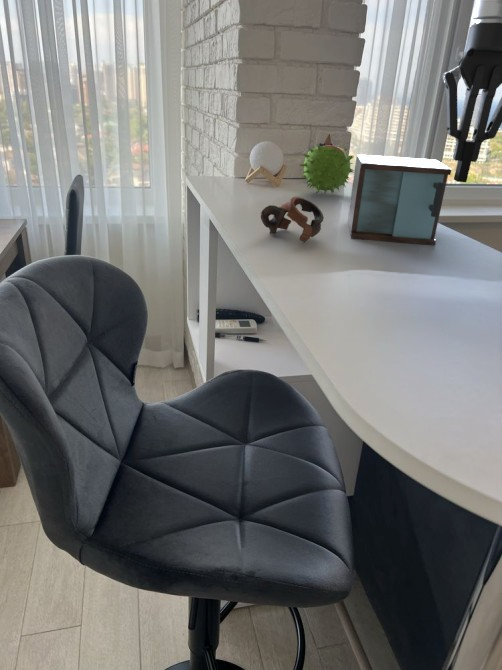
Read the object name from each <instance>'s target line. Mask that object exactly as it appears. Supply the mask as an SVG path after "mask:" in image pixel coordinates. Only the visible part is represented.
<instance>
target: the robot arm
mask: <svg viewBox="0 0 502 670" xmlns="http://www.w3.org/2000/svg"><path fill="white" fill-rule="evenodd" d="M471 20H472V22H473V24H471V26H470V27H469V29H468V33H467V38H466V43H465V48H464V52H463V55H462V58H461V59H460V60H459V62H458V65H457V66H456V67H454V68H453V69H451V70H449V71H445V72H443V73H442V75H441V79H442V81H443V84H444V86H445V103H446V105H445V106H446V107H445V108H446V134H447V135H448V136H450V137H453V138H454V139H455V145H454V150H453V155H452V157H453V160H454V161H456V162H457V164H456V167H455V172H454V176H453V180H454V181H456V182H457V183H467V182H468V176H469V172H470V168H471V164H472V163H477V161H478V160H479V155H480V152H481V147H482V144H483V143H484V142H485V141H487V140H491V139H492V140H493V139H495V137H496V136H497V134H498V132H499V130H500V127H501V126H502V96H501V97H500V99H499V101H498V103H497V105H496V108H495V109H494V112H493V114H492V116H491V118H490V115H491V114H490V113H491V109H492V105H493V101H494V98H495V96H496V92H497V89H498V88H500V86H501V85H502V0H475V1H474V5H473V10H472V14H471ZM460 76H461V78H462V81H463V83H464V85H465V87H466V89H465V97H464V102H463V106H462V109H461V110H462V111H461V115H460V119H459V118H458V117H459V116H458V84H457V83H459V82H460ZM480 91H481V94H480ZM479 94H480V96H481V98H480V102H479V105H478V111H477V115H476V119H475V123H474V128H473V132H472V137H471V138H472V139H471V140H468V138H469V134H470V130H471V124H472V121H473V116H474V113H475V108H476V103H477V99H478V96H479ZM489 118H490V119H489ZM458 119H459V122H458ZM458 123H459V124H458Z"/></svg>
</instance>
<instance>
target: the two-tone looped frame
mask: <svg viewBox="0 0 502 670" xmlns="http://www.w3.org/2000/svg"><path fill="white" fill-rule="evenodd" d="M299 205H300V207H301V210H299V209H298V208H297V206H299ZM301 211H302V212H307V213H312V214H313V218H314V219H312V220H311V222H310V224H309V223H308V220H309V218H308V216H306V215H304V214H303V213H302V212H301ZM271 215H272V218H271V219H270V216H271ZM285 216H287V217H288V218H286V217H285ZM260 220H261V223H262V224H263V225H264V227H266V228H268V229H269V234H270V235H271V234H277V231H278V229H280V230H285V231H288V228H289V226H290V224H291V223H292V221H293V222H294V223H296V224H297V225H298V226H299V227H300V228H302V229H303V230H302V233H301V235H300V236H299V241H301V242H303V243H307V242H308V241H309V240H310V238H314V237H315V236H316V235H318V234H319V233H320V231H321V230H322V223H323V221H324V214H323V212H322V210H321V209H320V208H319V207H318V206H317V205H316V204H315V203H313V201H310V200H308V199H306V198H304V197H300V196H294V197H291V199H290V200H289V201H287V202H284V203H283V204H280V205H279V206H277V205H272V204H270V205H267V206H264V208H263V209H262V210H261V212H260Z"/></svg>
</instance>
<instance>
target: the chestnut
mask: <svg viewBox="0 0 502 670" xmlns="http://www.w3.org/2000/svg"><path fill="white" fill-rule="evenodd" d="M336 145H337V144H336V143H335V144H334V145H331V144H327V145H319V144H317V146H316V147H313V148H310V147H308V149H309V151H308V152H307V154H306V153H303V156H305V158H304V161H303V163H301V164H299V166H300V167H303V172H302V174H301V176H300V179H302V178H305V179H306V180H307V182H306V184H307V185H306V187H309V188H311V189H313V188H315V189H316V195H318V193H319V192H320V191H323V192H324V195H326V193H328V192H327V191H330V192H331V193H332V194H335V189H337V190H338V191H340V186H343V187H344V188H347V186H346V185H345V183H346V184H349V182H348V181H350V177H349V175H350V173H351V174H352V173H354V172H355V169H353V168H351V165H353V164H354V163H353V162H351V160H352V159H354V157H355V155H349V152H348V151H347V150H348V147H346V148H345V147H344V146H339V145H337V146H336ZM347 180H348V181H347Z"/></svg>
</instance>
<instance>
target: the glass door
mask: <svg viewBox="0 0 502 670" xmlns="http://www.w3.org/2000/svg"><path fill="white" fill-rule="evenodd" d="M443 178H444V175H443V174H429V173H415V172H403V178H402V184H401V189H400V195H399V200H398V206H397V212H396V217H395V223H394V229H393V234H392V236H397V237H409V238H421V239H431V235H432V230H433V225H434V221H435V217H437V216H438V211H439V206H440V202H441V197H442V192H443V188H444V183H443Z"/></svg>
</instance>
